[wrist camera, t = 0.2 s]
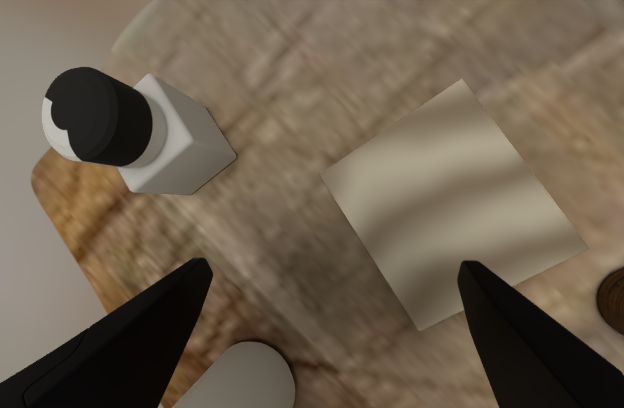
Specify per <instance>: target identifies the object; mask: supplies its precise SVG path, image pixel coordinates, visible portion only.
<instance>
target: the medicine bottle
mask: <svg viewBox="0 0 624 408" xmlns="http://www.w3.org/2000/svg"><path fill="white" fill-rule="evenodd" d="M42 125H43V129H44V133H45V135H46V138H47V140H48V141H49V143H50V144H51V146H52V147H53V148H54V149H55V150H56V151H57V152H58V153H59V154H61V155H62V156H63V157H65V158H67V159H69V160H73V161H79V162H86V163H92V164H99V165H106V166H113V167H117V168H118V170H119V172H120V174H121V175H122V177H123V179H124V181H125V182H126V184H127V186H128V188H129V189H130V191H131V192H135V193H155V194H177V195H191V194H193V193H194V192H195V191H196V190H198V189H199V188H200V187H201V186H203V185H204V184H205V183H206V182H208V181H209V180H210V179H211V178H213V177H214V176H215V175H216V174H218V173H219V172H220V171H221V170H223V169H224V168H225V167H226V166H228V165H229V164H230V163H231V162H233V161H234V160H235V159H236V157H237V156H236V154H235V152H234V151H233V149H232V148H231V146H230V145H229V143H228V142H227V140H226V139H225V137H224V135H223V134H222V132H221V131H220V129H219V128H218V126H217V125H216V123H215V122H214V120H213V119H212V117H211V115H210V114H209V112H208V111H207V109H206V108H205V107H204V106H203V105H202V104H200V103H198V102H197V101H195V100H193V99H192V98H190V97H189V96H187V95H185V94H184V93H182V92H180V91H179V90H177V89H175V88H174V87H172V86H171V85H169V84H167V83H166V82H164V81H162V80H161V79H159V78H157V77H156V76H154V75H153V74H147V75H146V76H145V77H144V78H143V79H142V80H141V81H140V82H139V83H138V84H136V85H135V86H134V87H133V88H132V87H130V86H128V85H126V84H124V83H122V82H120V81H118V80H116V79H114V78H112V77H110V76H108V75H106V74H104V73H102V72H100V71H98V70H96V69H93V68H90V67H79V68H74V69H70V70H67V71H65V72H64V73H62V74H61V75H59V76H58V77H57V78H56V79H55V80H54V81H53V83H52V84H51V85H50V87H49V89H48V90H47V93H46V95H45V98H44V102H43V106H42Z"/></svg>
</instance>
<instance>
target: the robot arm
mask: <svg viewBox="0 0 624 408" xmlns="http://www.w3.org/2000/svg"><path fill="white" fill-rule="evenodd" d="M212 278H213V272H212V270H211V268H210V266H209V264H208V262H207V260H206V259H205V258H192V259H191V260H189V261H188V262H186V263H185V264H183V265H182V266H180V267H179V268H177V269H176V270H174V271H173V272H171V273H170V274H168V275H167V276H165V277H164V278H162V279H161V280H159V281H158V282H156V283H155V284H153V285H152V286H150V287H149V288H147V289H146V290H144V291H143V292H141V293H140V294H138V295H137V296H135V297H134V298H132V299H131V300H129V301H128V302H126V303H125V304H123V305H122V306H120V307H119V308H117V309H116V310H114V311H113V312H111V313H110V314H108V315H107V316H105V317H104V318H102V319H101V320H99V321H98V322H96V323H95V324H93V325H92V326H90V328H87V329H86V330H84V331H83V332H81V333H80V334H78V335H77V336H75V337H74V338H72V339H71V340H69V341H68V342H66V343H65V344H63V345H61V346H60V347H58V348H57V349H55V350H54V351H52V352H50V353H49V354H47V355H46V356H44V357H43V358H41V359H39V360H37V361H36V362H34V363H33V364H31V365H29V366H28V367H26V368H24V369H23V370H21V371H20V372H18V373H16V374H15V375H13V376H11V377H10V378H8V379H6V380H5V381H3V382H1V383H0V408H158V406H159V404H160V401H161V399H162V397H163V395H164V393H165V390H166V388H167V386H168V384H169V382H170V379H171V377H172V375H173V373H174V371H175V368H176V366H177V364H178V362H179V360H180V358H181V355H182V353H183V351H184V349H185V347H186V344H187V342H188V340H189V338H190V336H191V333H192V331H193V329H194V327H195V325H196V322H197V320H198V318H199V315H200V313H201V310H202V307H203V304H204V301H205V298H206V296H207V293H208V290H209V287H210V284H211V281H212ZM457 284H458V288H459V292H460V296H461V299H462V303H463V307H464V311H465V315H466V318H467V322H468V326H469V329H470V333H471V336H472V338H473V341H474V344H475V346H476V349H477V352H478V354H479V357H480V359H481V362H482V364H483V367H484V370H485V372H486V375H487V377H488V380H489V382H490V385H491V388H492V390H493V393H494V395H495V398H496V400H497V403H498V405H499V408H624V375H623V373H622V372H621V371H620V370H619V369H617V368H616V367H615V366H614V365H612V364H611V363H610V362H608V361H607V360H606V359H604V358H603V357H602V356H601V355H599V354H598V353H597V352H595V351H594V350H593V349H592V348H590V347H589V346H588V345H586V344H585V343H584V342H583V341H581V340H580V339H579V338H577V337H576V336H575V335H574V334H572V333H571V332H570V331H568V330H567V329H566V328H565V327H563V326H562V325H561V324H559V323H558V322H557V321H556V320H554V319H553V318H552V317H550V316H549V315H548V314H547V313H545V312H544V311H543V310H541V309H540V308H539V307H537V306H536V305H535V304H534V303H532V302H531V301H530V300H528V299H527V298H526V297H525V296H523V295H522V294H521V293H519V292H518V291H517V290H516V289H514V288H513V287H512V286H510V285H509V284H508V283H507V282H505V281H504V280H503V279H501V278H500V277H499V276H498V275H496V274H495V273H494V272H492V271H491V270H490V269H489V268H487V267H486V266H485V265H483V264H482V263H481V262H479V261H477V260H463V261H462V262H461V265H460V269H459V273H458V277H457Z"/></svg>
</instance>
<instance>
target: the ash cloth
mask: <svg viewBox="0 0 624 408" xmlns="http://www.w3.org/2000/svg"><path fill="white" fill-rule="evenodd" d="M319 175H320V177H321V178H322V180H323V181H324V183H325V185H326V186H327V188H328V189H329V191H330V192H331V194H332V196H333V197H334V199H335V200H336V202H337V203H338V205H339V207H340V208H341V210H342V211H343V213H344V214H345V216H346V218H347V219H348V221H349V222H350V224H351V225H352V227H353V229H354V230H355V232H356V233H357V235H358V236H359V238H360V240H361V241H362V243H363V244H364V246H365V247H366V249H367V251H368V252H369V254H370V255H371V257H372V258H373V260H374V262H375V263H376V265H377V266H378V268H379V270H380V271H381V273H382V274H383V276H384V277H385V279H386V281H387V282H388V284H389V285H390V287H391V288H392V290H393V292H394V293H395V295H396V296H397V298H398V299H399V301H400V303H401V304H402V306H403V307H404V309H405V310H406V312H407V314H408V315H409V317H410V318H411V320H412V321H413V323H414V325H415V326H416V328H417V329H418V331H419V332H420V331H422V330H424V329H426V328H428V327H430V326H432V325H434V324H436V323H438V322H440V321H442V320H444V319H446V318H448V317H450V316H452V315H454V314H457V313H459V312H461V311H463V310H464V307H463V303H462V299H461V296H460V292H459V288H458V284H457V277H458V273H459V269H460V265H461V262H462V261H463V260H477V261H479V262H481V263H482V264H483V265H485V266H486V267H487V268H489V269H490V270H491V271H492V272H494V273H495V274H496V275H498V276H499V277H500V278H501V279H503V280H504V281H505V282H507V283H508V284H509V285H510V286H514V285H516V284H518V283H520V282H522V281H524V280H526V279H528V278H530V277H532V276H534V275H536V274H538V273H540V272H542V271H544V270H546V269H548V268H550V267H553V266H555V265H557V264H559V263H561V262H563V261H565V260H567V259H569V258H571V257H573V256H575V255H577V254H579V253H581V252H583V251H585V250H587V249H589V247H588V246H587V244H586V243H585V242H584V240H583V239H582V238H581V236H580V235H579V234H578V232H577V231H576V230H575V228H574V227H573V226H572V224H571V223H570V222H569V220H568V219H567V218H566V216H565V215H564V214H563V212H562V211H561V210H560V208H559V207H558V206H557V204H556V203H555V202H554V200H553V199H552V198H551V196H550V195H549V194H548V192H547V191H546V190H545V188H544V187H543V186H542V184H541V183H540V182H539V180H538V179H537V178H536V177H535V175H534V174H533V173H532V171H531V170H530V169H529V167H528V166H527V165H526V163H525V162H524V161H523V159H522V158H521V157H520V155H519V154H518V153H517V151H516V150H515V149H514V147H513V146H512V145H511V143H510V142H509V141H508V139H507V138H506V137H505V135H504V134H503V133H502V131H501V130H500V129H499V127H498V126H497V125H496V123H495V122H494V121H493V119H492V118H491V117H490V115H489V114H488V113H487V111H486V110H485V109H484V107H483V106H482V105H481V103H480V102H479V101H478V99H477V98H476V97H475V95H474V94H473V93H472V91H471V90H470V89H469V87H468V86H467V85H466V83H465V82H464V81H463V79H461V80H459V81H458V82H456V83H455V84H453V85H452V86H450V87H449V88H447V89H446V90H444V91H443V92H441V93H440V94H438V95H437V96H435V97H434V98H432V99H431V100H429V101H428V102H426V103H425V104H423V105H422V106H420V107H419V108H417V109H416V110H414V111H413V112H411V113H410V114H408V115H407V116H405V117H404V118H402V119H401V120H400V121H398V122H397V123H395V124H394V125H392V126H391V127H389V128H388V129H386V130H385V131H383V132H382V133H380V134H379V135H377V136H376V137H374V138H373V139H371V140H370V141H368V142H367V143H365V144H364V145H362V146H361V147H359V148H358V149H356V150H355V151H353V152H352V153H350V154H349V155H347V156H346V157H344V158H343V159H341V160H340V161H338V162H337V163H335V164H334V165H332V166H331V167H330V168H328V169H327V170H325V171H324V172H322V173H321V174H319Z"/></svg>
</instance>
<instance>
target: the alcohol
mask: <svg viewBox="0 0 624 408" xmlns="http://www.w3.org/2000/svg"><path fill="white" fill-rule="evenodd" d="M294 401H295V385H294V380H293V377H292V374H291V371H290V369H289V367H288V365H287V363H286V361H285V360H284V358H283V357H282V356H281V355H280V354H279V353H278V352H277V351H276V350H275V349H273V348H272V347H270V346H268V345H266V344H263V343H259V342H240V343H238V344H235V345H233V346H231V347H229V348H228V349H227V350H226V351H225V352H224V353H223V354H222V355H221V356H220V357H219V358H218V359H217V360H216V361H215V362H214V363H213V364H212V365H211V366H210V368H209V369H208V370H207V371H206V372H205V373H204V374H203V375H202V376H201V377H200V378H199V379H198V380H197V381H196V382H195V384H194V385H193V386H192V387H191V388H190V389H189V390H188V391H187V392H186V393H185V394H184V395H183V396H182V397H181V399H180V400H179V401H178V402H177V403H176V404H175V405H174V406H173V407H172V408H293V406H294Z"/></svg>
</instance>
